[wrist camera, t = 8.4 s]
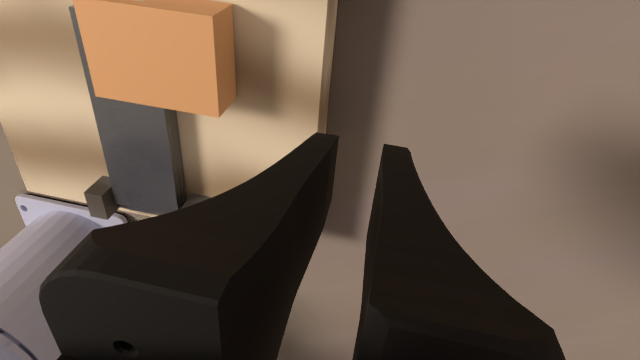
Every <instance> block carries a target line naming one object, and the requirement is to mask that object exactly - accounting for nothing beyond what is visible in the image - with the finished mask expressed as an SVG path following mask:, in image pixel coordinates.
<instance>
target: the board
mask: <svg viewBox="0 0 640 360" xmlns="http://www.w3.org/2000/svg"><path fill="white" fill-rule="evenodd" d="M136 1H145V0H136ZM210 1H217V2H224V3H232V5H233V29H234V54H235V79H236V99H235V101H234V102H233V103H232V104H231V105H230V106H229V107H228V108H227V110H226V111H225V112H224V113H223V114H222V115H221V116H220V117H219V118H217V117H211V116H206V115H200V114H194V113H188V112H183V111H177V110H176V113H177V121H178V129H179V137H180V146H181V154H182V162H183V170H184V179H185V187H186V195H187V201H186V202H185V204H184V205H183V206H182V208H185V207H188V206H191V205H194V204H196V203H199V202H201V201H204V200H206V199H209V198H212V197H214V196H217V195H219V194H221V193H224V192H226V191H228V190H230V189H232V188H234V187H236V186H238V185H240V184H242V183H244V182H246V181H248V180H249V179H251V178H253V177H255V176H256V175H258V174H259V173H261V172H262V171H264V170H266V169H267V168H269V167H270V166H272V165H273V164H275V163H276V162H277V161H279V160H280V159H282V158H283V157H284V156H286V155H287V154H289V153H290V152H291V151H292V150H294V149H295V148H296V147H298V146H299V145H300V144H301V143H303V142H304V141H305V140H306V139H308V138H309V137H310V136H312V135H313V134H315V133H316V132H318V133H324V134H326V125H327V114H328V103H329V92H330V82H331V71H332V60H333V49H334V38H335V27H336V17H337V6H338V0H210ZM72 5H74V4H73V0H0V122H1V124H2V127H3V129H4V132H5V135H6V137H7V140H8V142H9V145H10V147H11V150H12V153H13V155H14V158H15V160H16V163H17V165H18V168H19V170H20V173H21V176H22V178H23V181H24V183H25V186H26V188H27V191H31V192H36V193H41V194H45V195H50V196H55V197H60V198H64V199H69V200H74V201H79V202H84V203H87V206H88V209H89V212H90V216H91V217H96V218H101V219H105V220H108V219H109V218H110V217H111V216H112V215H113V214H114V213H115V212H116V211H117V210H122V211H126V212H131V213H136V214H141V215H146V216H150V217H155V216H158V215H153V214H149V213H144V212H139V211H134V210H130V209H125V208H120V207H117V206H116V204H115V200H114V195H113V191H112V187H111V183H110V179H109V174H108V170H107V166H106V162H105V158H104V154H103V149H102V145H101V141H100V137H99V133H98V128H97V124H96V120H95V116H94V112H93V108H92V103H91V99H90V95H89V91H88V87H87V82H86V78H85V74H84V70H83V66H82V62H81V57H80V53H79V49H78V45H77V41H76V36H75V32H74V28H73V24H72V20H71V16H70V11H69V6H72ZM182 208H181V209H182Z"/></svg>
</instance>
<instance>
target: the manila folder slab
mask: <svg viewBox="0 0 640 360" xmlns="http://www.w3.org/2000/svg"><path fill="white" fill-rule="evenodd" d="M73 4H74V8H75V13H76V17H77V21H78V25H79V29H80V33H81V37H82V42H83V46H84V50H85V54H86V58H87V62H88V67H89V71H90V75H91V79H92V83H93V87H94V92H95V96H96V97H102V98H108V99H114V100H119V101H125V102H131V103H137V104H142V105H148V106H154V107H160V108H165V109H171V110H177V111H183V112H188V113H194V114H200V115H206V116H211V117H217V118H219V117H220V116H221V115H222V114H223V113H224V112H225V111H226V110H227V108H228V107H229V106H230V105H231V104H232V103H233V102H234V101H235V99H236V79H235V54H234V29H233V5H232V3H224V2H217V1H210V0H145V1H136V0H73Z"/></svg>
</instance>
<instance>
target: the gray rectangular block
mask: <svg viewBox="0 0 640 360" xmlns="http://www.w3.org/2000/svg"><path fill="white" fill-rule="evenodd" d="M69 11H70V16H71V20H72V24H73V28H74V32H75V36H76V41H77V45H78V49H79V53H80V57H81V62H82V66H83V70H84V74H85V78H86V82H87V87H88V91H89V95H90V99H91V103H92V108H93V112H94V116H95V120H96V124H97V128H98V133H99V137H100V141H101V145H102V149H103V154H104V158H105V162H106V166H107V170H108V174H109V179H110V183H111V187H112V191H113V195H114V200H115V204H116V206H117V207H120V208H125V209H130V210H134V211H139V212H144V213H149V214H153V215H158V216H159V215H162V214H166V213H169V212H173V211H176V210H179V209H181V208H182V206H183V205H184V204H185V202H186V201H187V195H186V187H185V179H184V170H183V162H182V154H181V146H180V137H179V129H178V121H177V113H176V110H171V109H165V108H160V107H154V106H148V105H142V104H137V103H131V102H125V101H119V100H114V99H108V98H102V97H96V96H95V92H94V87H93V83H92V79H91V75H90V71H89V67H88V62H87V58H86V54H85V50H84V46H83V42H82V37H81V33H80V29H79V25H78V21H77V17H76V13H75V8H74V5H72V6H69Z"/></svg>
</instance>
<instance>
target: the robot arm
mask: <svg viewBox="0 0 640 360" xmlns="http://www.w3.org/2000/svg"><path fill="white" fill-rule="evenodd" d="M338 137H339V136H336V135H330V134H324V133H318V132H316V133H315V134H313V135H312V136H310V137H309V138H308V139H306V140H305V141H304V142H303V143H301V144H300V145H299V146H298V147H296V148H295V149H294V150H292V151H291V152H290V153H289V154H287V155H286V156H284V157H283V158H282V159H280V160H279V161H277V162H276V163H275V164H273V165H272V166H270V167H269V168H267V169H266V170H264V171H262V172H261V173H259V174H258V175H256V176H255V177H253V178H251V179H249V180H248V181H246V182H244V183H242V184H240V185H238V186H236V187H234V188H232V189H230V190H228V191H226V192H224V193H221V194H219V195H217V196H214V197H212V198H209V199H206V200H204V201H201V202H199V203H196V204H194V205H191V206H188V207H185V208H182V209H179V210H176V211H173V212H169V213H166V214H162V215H159V216H155V217H151V218H147V219H143V220H139V221H134V222H129V223H128V222H127V220H126V218H125V217H124V216H123V215H121V214H117V213H114V214H113V215H112V216H111V217H110V218H109V219H108V220H105V219H101V218H96V217H91V216H90V212H89V209H88V207H84V206H79V205H75V204H70V203H65V202H60V201H56V200H51V199H46V198H42V197H37V196H32V195H27V194H19V195H18V196H16V198H15V201H16V203H17V206H18V208H19V211H20V213H21V215H22V218H23V220H24V223H25V225H26V227H25V228H24V229H23V230H22V231H21V232H20V233H18V234H17V235H16V236H15V237H14V238H13V239H11V240H10V241H9V242H8V243H7V244H6V245H4V246H3V247H2V248H1V249H0V360H276V359H277V356H278V352H279V349H280V345H281V342H282V338H283V335H284V331H285V328H286V325H287V321H288V318H289V314H290V311H291V308H292V304H293V302H294V299H295V296H296V293H297V290H298V288H299V286H300V283H301V281H302V278H303V276H304V274H305V271H306V269H307V266H308V264H309V262H310V259H311V257H312V254H313V252H314V250H315V247H316V245H317V242H318V240H319V237H320V235H321V232H322V230H323V228H324V224H325V221H326V217H327V213H328V209H329V206H330V202H331V198H332V191H333V182H334V173H335V164H336V155H337V146H338ZM353 360H566V359H565V357H564V354H563V352H562V349H561V347H560V344H559V342H558V340H557V337H556V335H555V332H554V330H553V329H552V328H551V327H550V326H549V325H547V324H546V323H545V322H543V321H542V320H541V319H539V318H538V317H537V316H535V315H534V314H533V313H532V312H530V311H529V310H528V309H526V308H525V307H524V306H522V305H521V304H520V303H519V302H517V301H516V300H515V299H514V298H512V297H511V296H510V295H509V294H508V293H507V292H505V291H504V290H503V289H502V288H501V287H500V286H499V285H498V284H497V283H495V282H494V281H493V280H492V279H491V278H490V277H489V276H488V275H487V274H486V273H485V272H484V271H483V270H482V269H481V268H480V267H479V266H478V265H477V264H476V263H475V262H474V261H473V260H472V259H471V257H470V256H469V255H468V254H467V253H466V252H465V251H464V250H463V249H462V247H461V246H460V245H459V244H458V243H457V241H456V240H455V239H454V237H453V236H452V235H451V233H450V232H449V231H448V229H447V228H446V226H445V225H444V223H443V222H442V220H441V219H440V217H439V215H438V214H437V212H436V210H435V208H434V207H433V205H432V203H431V201H430V200H429V198H428V196H427V194H426V192H425V190H424V187H423V185H422V183H421V181H420V179H419V177H418V174H417V172H416V169H415V166H414V163H413V160H412V157H411V152H410V151H409V150H408V148H405V147H399V146H393V145H388V144H384V146H383V151H382V156H381V161H380V167H379V172H378V178H377V183H376V188H375V194H374V199H373V205H372V210H371V216H370V221H369V227H368V232H367V240H366V253H365V266H364V279H363V292H362V305H361V313H360V321H359V326H358V332H357V338H356V343H355V349H354V355H353Z"/></svg>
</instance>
